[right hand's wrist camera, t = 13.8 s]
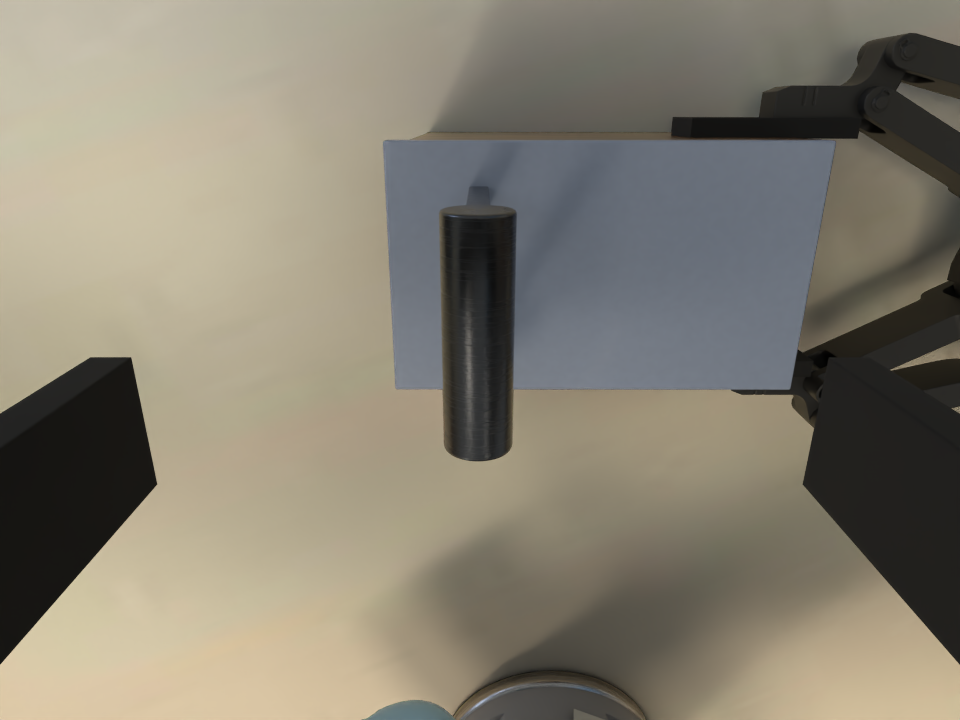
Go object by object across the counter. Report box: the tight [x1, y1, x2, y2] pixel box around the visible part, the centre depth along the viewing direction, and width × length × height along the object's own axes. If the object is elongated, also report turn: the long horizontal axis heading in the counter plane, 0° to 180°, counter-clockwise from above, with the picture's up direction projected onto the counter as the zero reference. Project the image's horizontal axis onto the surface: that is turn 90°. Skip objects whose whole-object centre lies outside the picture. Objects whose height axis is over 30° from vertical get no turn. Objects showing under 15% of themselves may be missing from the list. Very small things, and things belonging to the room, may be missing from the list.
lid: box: [383, 140, 836, 461], centre depth 20 cm, size 16×9×9 cm, turn 90°
